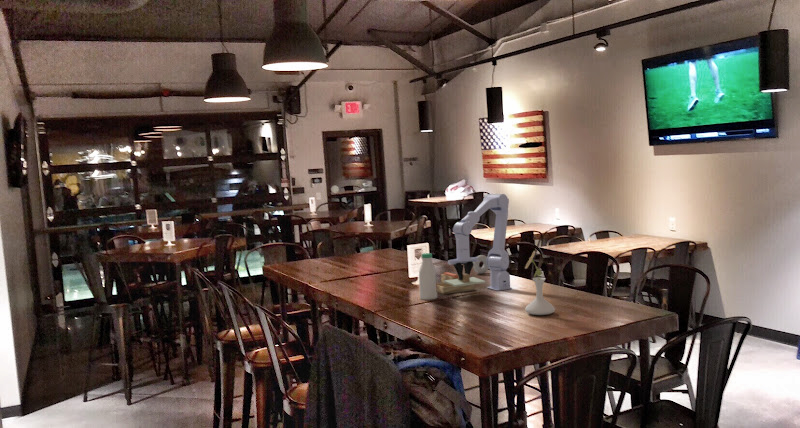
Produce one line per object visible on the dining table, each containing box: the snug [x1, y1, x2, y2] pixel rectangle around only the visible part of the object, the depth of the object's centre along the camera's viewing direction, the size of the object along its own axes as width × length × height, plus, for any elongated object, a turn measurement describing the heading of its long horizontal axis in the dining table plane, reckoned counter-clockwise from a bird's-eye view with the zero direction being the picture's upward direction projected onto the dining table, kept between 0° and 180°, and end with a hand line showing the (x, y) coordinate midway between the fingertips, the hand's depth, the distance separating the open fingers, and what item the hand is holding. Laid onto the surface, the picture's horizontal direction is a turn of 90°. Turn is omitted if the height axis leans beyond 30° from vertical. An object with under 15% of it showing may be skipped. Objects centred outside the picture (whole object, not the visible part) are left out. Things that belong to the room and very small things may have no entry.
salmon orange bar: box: [443, 271, 458, 278], centre depth 331 cm, size 10×2×2 cm, turn 24°
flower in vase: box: [524, 250, 556, 316], centre depth 260 cm, size 13×11×25 cm
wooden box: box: [437, 282, 475, 295], centre depth 317 cm, size 11×16×3 cm
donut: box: [472, 254, 490, 275], centre depth 359 cm, size 10×4×10 cm, turn 116°
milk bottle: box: [418, 252, 438, 301], centre depth 300 cm, size 8×8×20 cm
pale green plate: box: [444, 272, 486, 287], centre depth 303 cm, size 10×15×4 cm
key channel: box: [440, 273, 458, 283], centre depth 330 cm, size 13×5×5 cm, turn 24°
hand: (464, 279), depth 302 cm, fingers closed on pale green plate, 3 cm apart
